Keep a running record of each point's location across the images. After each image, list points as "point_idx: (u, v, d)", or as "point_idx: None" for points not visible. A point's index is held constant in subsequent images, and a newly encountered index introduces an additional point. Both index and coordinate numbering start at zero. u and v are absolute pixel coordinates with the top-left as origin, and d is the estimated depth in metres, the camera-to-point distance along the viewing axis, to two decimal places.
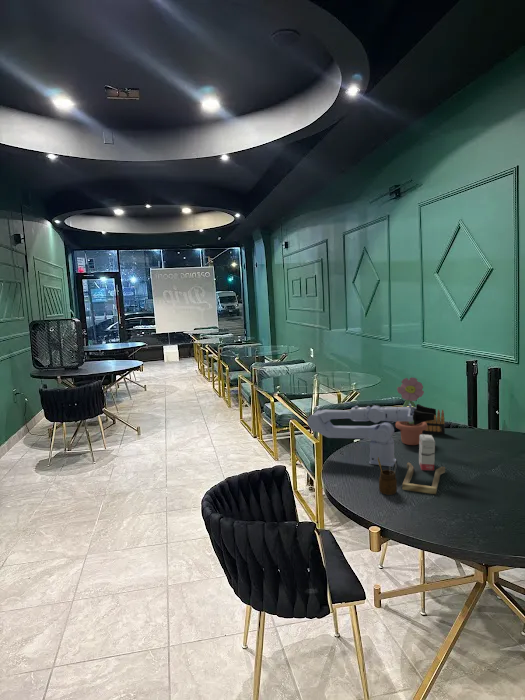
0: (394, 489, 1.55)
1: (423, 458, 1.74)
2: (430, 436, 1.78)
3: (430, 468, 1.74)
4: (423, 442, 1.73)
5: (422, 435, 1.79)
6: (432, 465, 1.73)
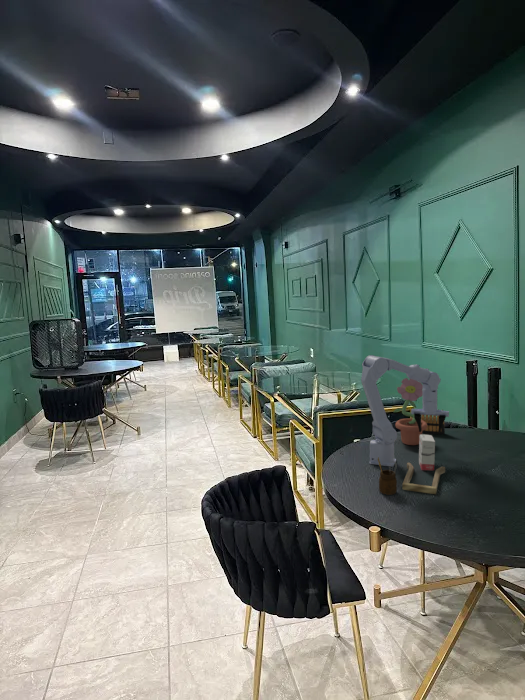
0: (394, 489, 1.55)
1: (423, 458, 1.74)
2: (430, 436, 1.78)
3: (430, 468, 1.74)
4: (423, 442, 1.73)
5: (422, 435, 1.79)
6: (432, 465, 1.73)
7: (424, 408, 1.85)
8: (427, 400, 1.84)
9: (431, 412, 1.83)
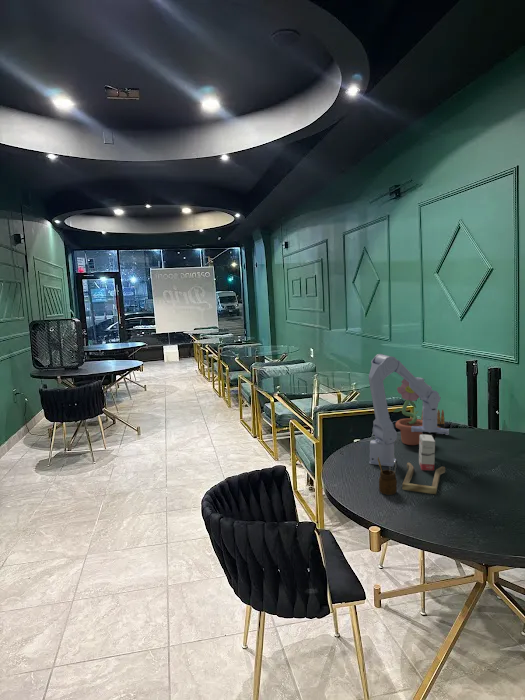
0: (394, 489, 1.55)
1: (423, 458, 1.74)
2: (430, 436, 1.78)
3: (430, 468, 1.74)
4: (423, 442, 1.73)
5: (422, 435, 1.79)
6: (432, 465, 1.73)
7: (424, 426, 1.86)
8: (427, 418, 1.84)
9: (431, 430, 1.84)
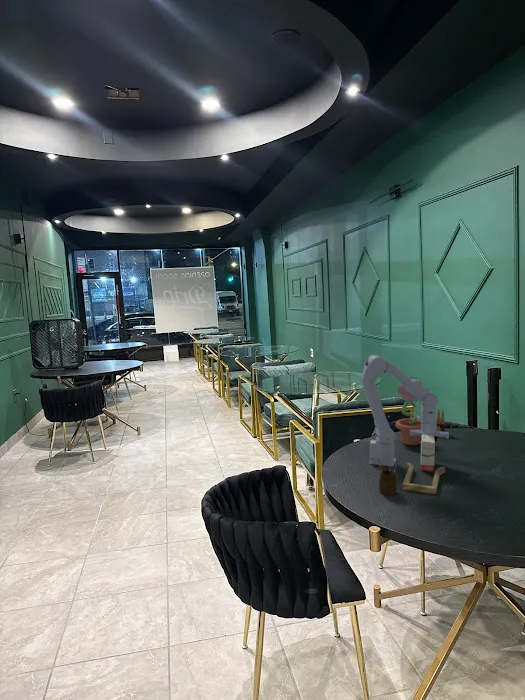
0: (394, 489, 1.55)
1: (423, 459, 1.73)
2: (431, 437, 1.76)
3: (430, 469, 1.73)
4: (423, 443, 1.72)
5: (423, 435, 1.78)
6: (432, 466, 1.72)
7: (423, 430, 1.80)
8: (424, 421, 1.79)
9: (430, 434, 1.79)
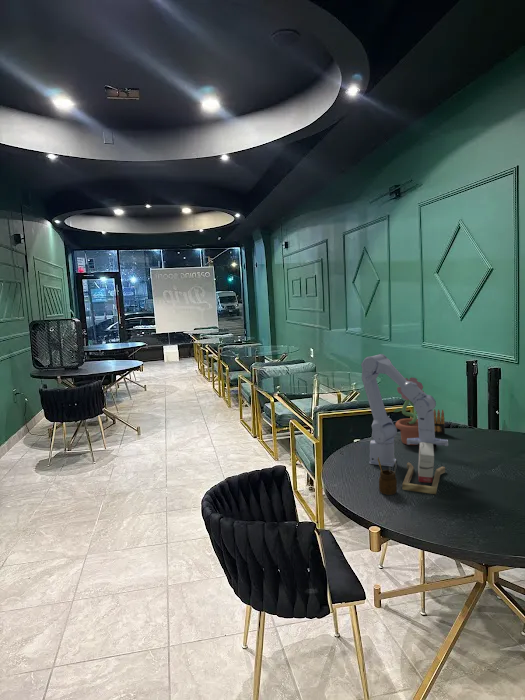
0: (394, 489, 1.55)
1: (421, 471, 1.62)
2: (430, 446, 1.64)
3: (428, 480, 1.63)
4: (421, 456, 1.60)
5: (422, 444, 1.66)
6: (430, 478, 1.62)
7: (421, 437, 1.69)
8: (418, 427, 1.70)
9: (428, 442, 1.67)
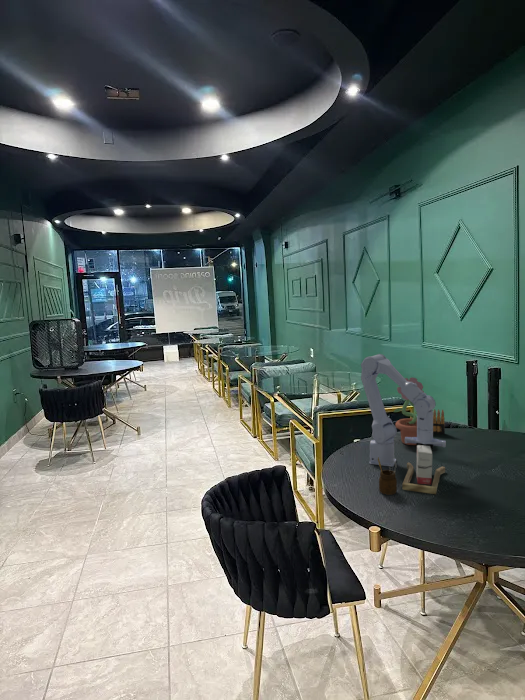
0: (394, 489, 1.55)
1: (419, 471, 1.62)
2: (428, 447, 1.66)
3: (427, 482, 1.61)
4: (419, 454, 1.61)
5: (419, 446, 1.67)
6: (429, 479, 1.61)
7: (419, 437, 1.70)
8: (417, 427, 1.71)
9: (426, 442, 1.68)
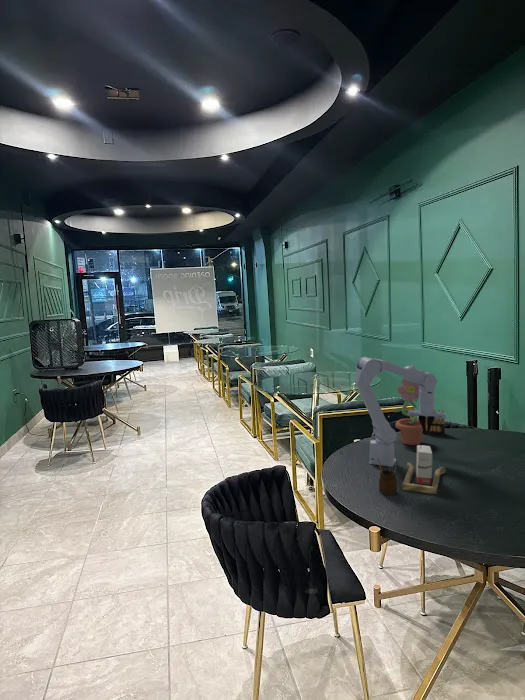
0: (394, 489, 1.55)
1: (419, 471, 1.62)
2: (428, 447, 1.66)
3: (427, 482, 1.61)
4: (419, 454, 1.61)
5: (419, 446, 1.67)
6: (429, 479, 1.61)
7: (421, 410, 1.83)
8: (423, 402, 1.81)
9: (428, 414, 1.81)
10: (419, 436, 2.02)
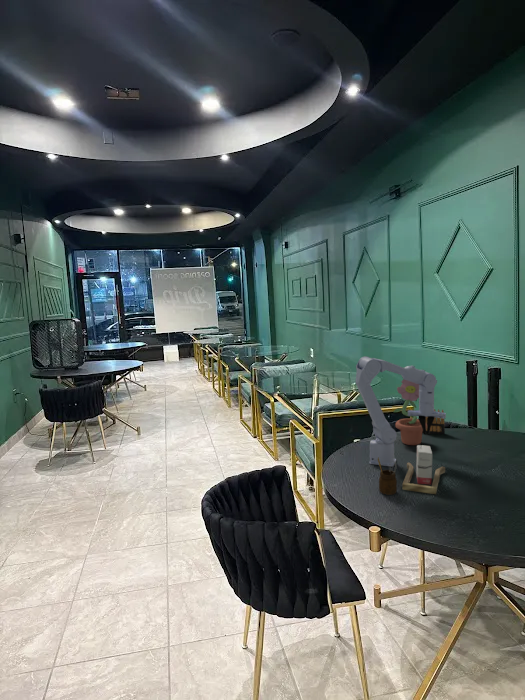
0: (394, 489, 1.55)
1: (419, 471, 1.62)
2: (428, 447, 1.66)
3: (427, 482, 1.61)
4: (419, 454, 1.61)
5: (419, 446, 1.67)
6: (429, 479, 1.61)
7: (421, 410, 1.83)
8: (423, 401, 1.82)
9: (428, 414, 1.81)
10: (419, 436, 2.02)
